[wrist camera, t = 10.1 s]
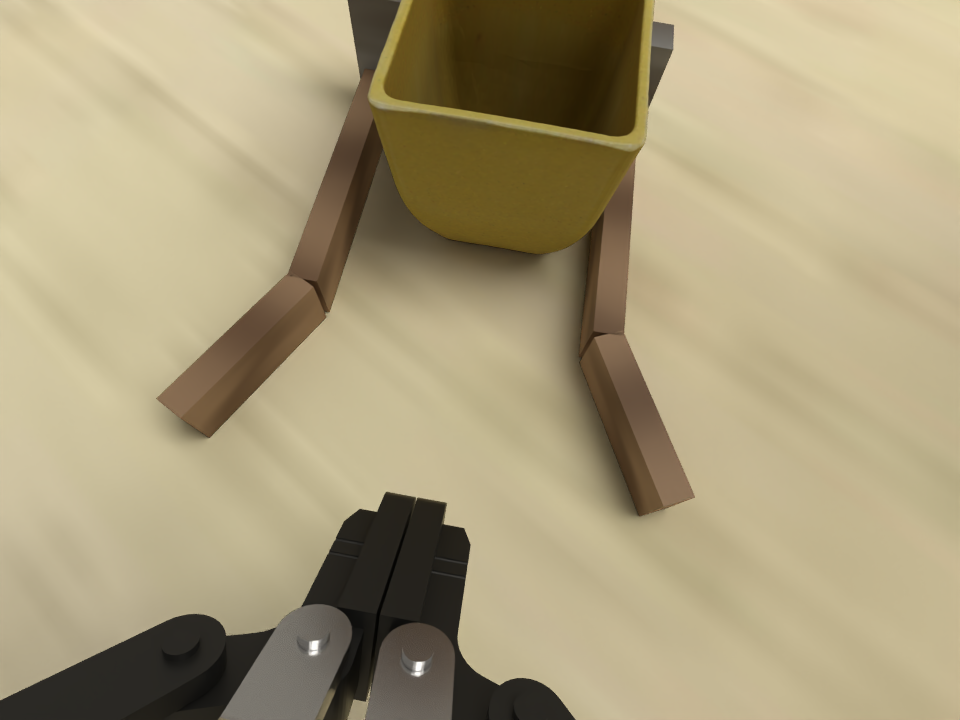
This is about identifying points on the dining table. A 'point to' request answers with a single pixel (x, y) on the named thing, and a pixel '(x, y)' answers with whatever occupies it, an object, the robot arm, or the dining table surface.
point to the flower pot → (513, 114)
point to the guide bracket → (323, 253)
